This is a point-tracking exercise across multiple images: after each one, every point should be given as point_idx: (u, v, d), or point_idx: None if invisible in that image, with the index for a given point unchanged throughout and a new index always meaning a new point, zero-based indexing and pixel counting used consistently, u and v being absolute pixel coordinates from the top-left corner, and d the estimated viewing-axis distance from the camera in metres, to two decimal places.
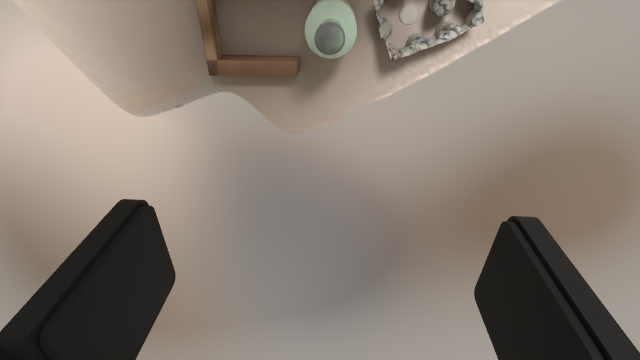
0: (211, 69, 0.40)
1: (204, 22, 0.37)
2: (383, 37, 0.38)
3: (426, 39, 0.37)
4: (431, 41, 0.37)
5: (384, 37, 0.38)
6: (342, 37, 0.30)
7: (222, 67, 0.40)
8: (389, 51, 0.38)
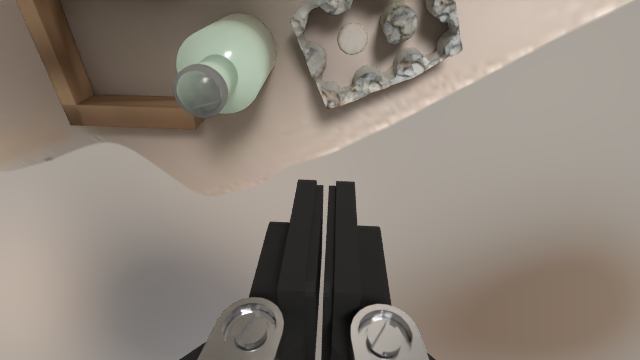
0: (71, 117, 0.28)
1: (45, 52, 0.25)
2: (314, 75, 0.25)
3: (377, 77, 0.24)
4: (384, 80, 0.24)
5: (315, 75, 0.25)
6: (219, 91, 0.18)
7: (86, 114, 0.28)
8: (323, 95, 0.25)
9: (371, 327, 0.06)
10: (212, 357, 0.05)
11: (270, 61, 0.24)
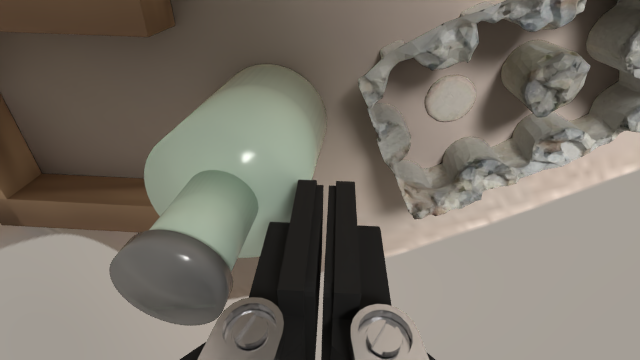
0: (1, 215, 0.18)
1: None
2: (389, 163, 0.15)
3: (501, 168, 0.14)
4: (514, 172, 0.14)
5: (392, 161, 0.15)
6: (211, 291, 0.08)
7: (25, 212, 0.18)
8: (406, 195, 0.15)
9: (371, 327, 0.06)
10: (212, 357, 0.05)
11: (318, 153, 0.14)
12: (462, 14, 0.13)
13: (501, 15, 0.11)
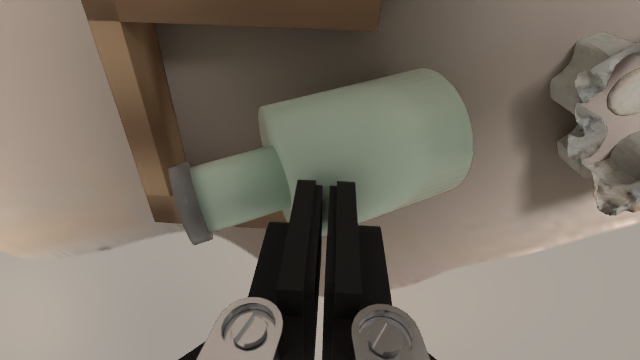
0: (158, 212, 0.17)
1: (133, 120, 0.15)
2: (579, 158, 0.15)
3: None
4: None
5: (580, 157, 0.15)
6: None
7: None
8: (596, 192, 0.15)
9: (372, 327, 0.06)
10: (211, 357, 0.05)
11: (406, 182, 0.11)
12: None
13: None
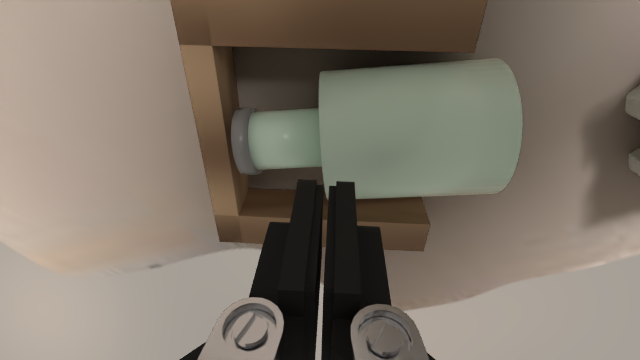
0: (225, 231, 0.17)
1: (211, 142, 0.14)
2: None
3: None
4: None
5: None
6: None
7: (251, 229, 0.17)
8: None
9: (371, 327, 0.06)
10: (212, 357, 0.05)
11: (432, 130, 0.11)
12: None
13: None
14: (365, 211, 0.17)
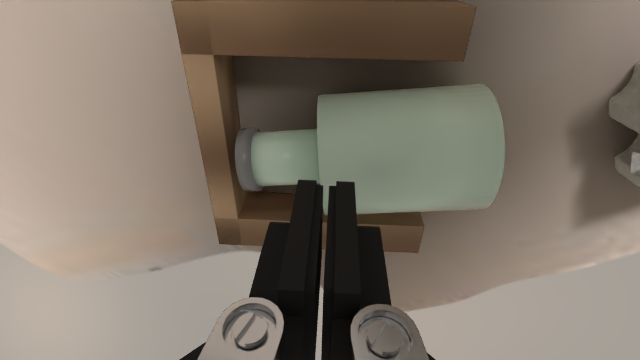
0: (224, 234, 0.18)
1: (212, 147, 0.15)
2: None
3: None
4: None
5: None
6: None
7: (250, 231, 0.18)
8: None
9: (371, 327, 0.06)
10: (212, 357, 0.05)
11: (422, 171, 0.12)
12: None
13: None
14: (361, 214, 0.18)
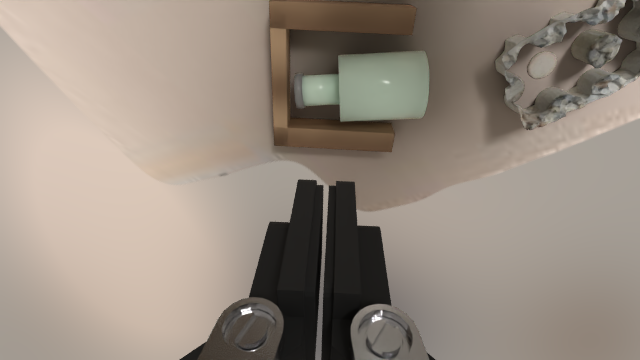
0: (278, 138, 0.30)
1: (278, 81, 0.27)
2: (512, 101, 0.28)
3: (576, 98, 0.27)
4: (583, 100, 0.27)
5: (513, 100, 0.28)
6: None
7: (293, 136, 0.30)
8: (522, 118, 0.28)
9: (371, 327, 0.06)
10: (212, 357, 0.05)
11: (390, 93, 0.25)
12: (551, 19, 0.26)
13: (578, 18, 0.24)
14: (359, 128, 0.30)
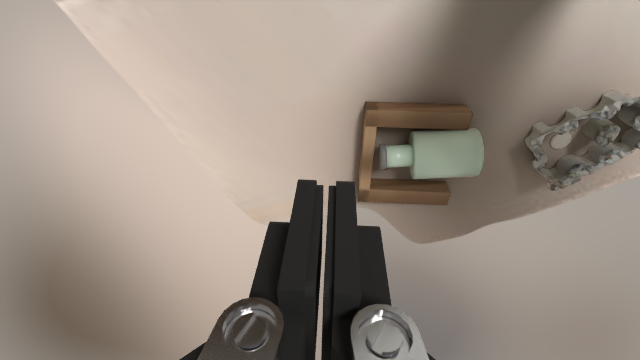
0: (361, 196, 0.40)
1: (367, 159, 0.37)
2: (539, 169, 0.37)
3: (587, 167, 0.36)
4: (593, 168, 0.36)
5: (539, 168, 0.37)
6: (380, 154, 0.36)
7: (373, 195, 0.40)
8: (547, 181, 0.37)
9: (371, 327, 0.06)
10: (212, 357, 0.05)
11: (454, 151, 0.34)
12: (567, 111, 0.36)
13: (587, 117, 0.33)
14: (422, 187, 0.40)
